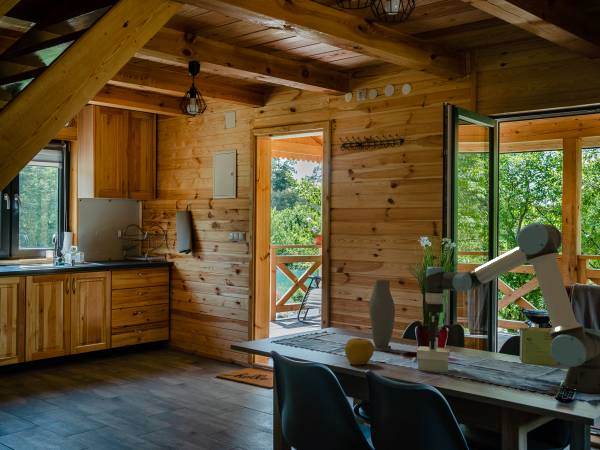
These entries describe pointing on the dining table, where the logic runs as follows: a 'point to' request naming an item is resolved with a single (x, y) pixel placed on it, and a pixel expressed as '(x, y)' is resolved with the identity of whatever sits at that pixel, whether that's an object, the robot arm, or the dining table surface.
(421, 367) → the tub
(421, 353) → the lid
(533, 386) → the dining table surface
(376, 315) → the vase
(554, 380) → the dining table surface
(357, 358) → the apple
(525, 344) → the protein box
